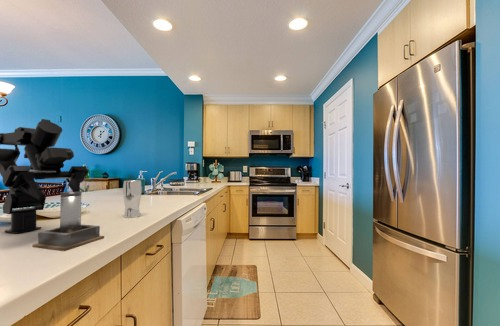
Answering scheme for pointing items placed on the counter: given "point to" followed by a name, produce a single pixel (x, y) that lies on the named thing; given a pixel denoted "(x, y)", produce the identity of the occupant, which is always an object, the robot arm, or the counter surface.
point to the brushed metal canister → (70, 212)
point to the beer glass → (132, 198)
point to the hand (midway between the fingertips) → (60, 196)
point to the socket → (68, 238)
